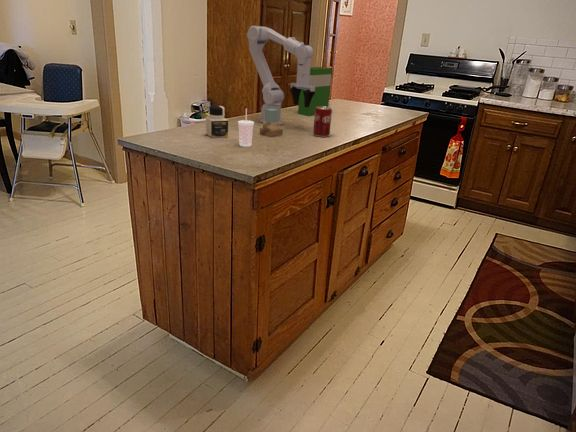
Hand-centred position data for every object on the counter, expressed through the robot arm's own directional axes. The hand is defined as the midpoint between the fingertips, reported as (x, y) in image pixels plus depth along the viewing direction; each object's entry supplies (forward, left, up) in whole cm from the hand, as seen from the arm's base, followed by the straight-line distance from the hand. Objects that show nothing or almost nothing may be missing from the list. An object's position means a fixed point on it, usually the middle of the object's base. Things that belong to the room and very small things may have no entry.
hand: (301, 105), depth 199 cm
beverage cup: (+15, -40, -11) cm, 44 cm away
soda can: (+15, 0, -11) cm, 18 cm away
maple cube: (+4, -20, -8) cm, 22 cm away
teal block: (+4, -20, -5) cm, 21 cm away
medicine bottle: (-3, -42, -11) cm, 43 cm away
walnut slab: (+4, -20, -11) cm, 23 cm away
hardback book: (-27, +33, -11) cm, 44 cm away
